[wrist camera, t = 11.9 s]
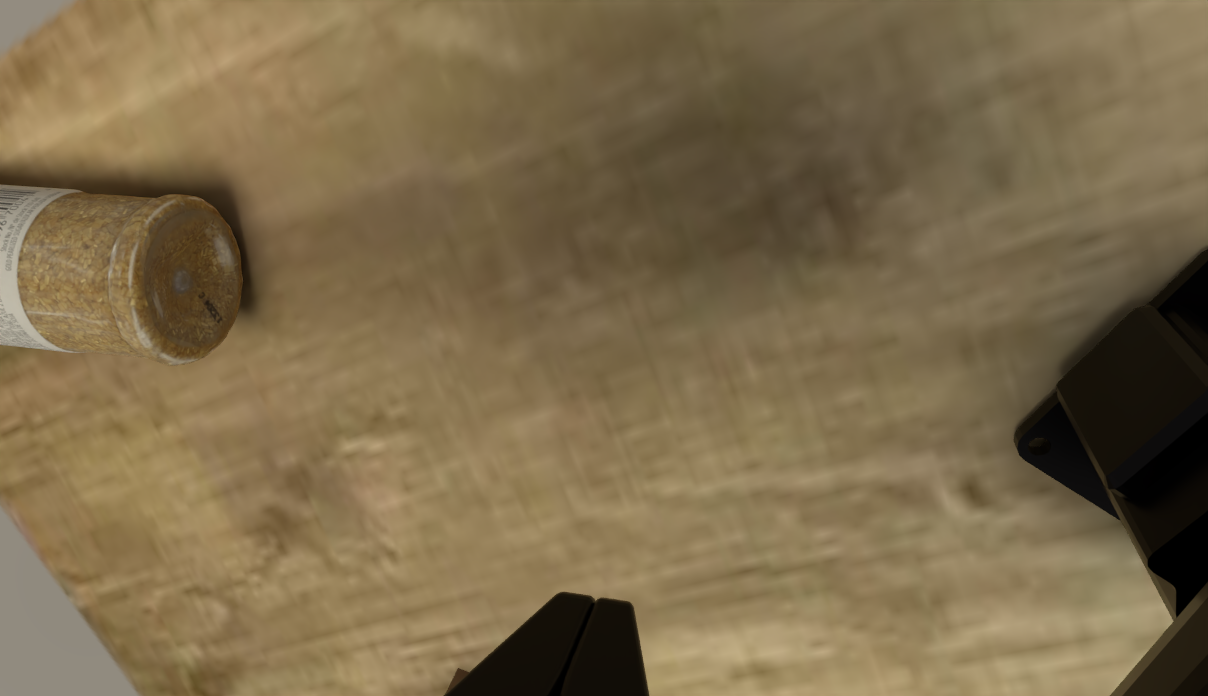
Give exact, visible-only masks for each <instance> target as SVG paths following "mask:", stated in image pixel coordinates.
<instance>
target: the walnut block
mask: <svg viewBox="0 0 1208 696" xmlns="http://www.w3.org/2000/svg"><path fill="white" fill-rule="evenodd" d="M468 673H469V672H467V671H464V670H461V669H459V668H458V669H457V672H456V674H455V676H454V678H453V680H452V682H451V684H450V686H449V688H448V690H447V692H448V691H449V690H450V689H451V688H453V687H454V686H455V685H456V684H457V683H458V682H459V681H460V680H461V679H463V678H464V677H465V676H466V675H467V674H468ZM447 692H446V693H447Z"/></svg>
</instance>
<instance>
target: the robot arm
mask: <svg viewBox="0 0 1208 696" xmlns="http://www.w3.org/2000/svg"><path fill="white" fill-rule="evenodd" d="M1035 438H1044V439H1047V440H1046V442H1045V443H1044V444H1043V445H1041V446H1037V447H1032V446H1029V443H1030V441H1032V440H1034V439H1035ZM1014 442H1015V445H1016V448H1017V450H1018V453H1019V455H1020V456H1021V457H1022V458H1023V459H1024V460H1025V461H1027V462H1028V463H1030V464H1031V465H1033V466H1035V467H1036V468H1038V469H1039V470H1041V471H1042V472H1044V473H1046V474H1047V475H1049V476H1050V477H1052V478H1054V479H1055V480H1057V481H1058V482H1060V483H1062V484H1063V485H1065V486H1066V487H1068V488H1069V489H1071V490H1073V491H1074V492H1076V493H1077V494H1079V495H1081V496H1082V497H1084V498H1085V499H1087V500H1089V501H1090V502H1092V503H1093V504H1095V505H1096V506H1098V507H1100V508H1101V509H1103V510H1104V511H1106V512H1108V513H1109V514H1111V515H1112V516H1114V517H1116V518H1117V519H1119V520H1120V521H1121V522H1122V524H1123V526H1124V527H1125V529H1126V531H1127V533H1128V535H1129V537H1130V539H1131V541H1132V543H1133V545H1134V546H1135V548H1136V550H1137V552H1138V554H1139V556H1140V558H1141V560H1142V562H1143V564H1144V566H1145V567H1146V569H1147V571H1148V573H1149V575H1150V577H1151V579H1152V581H1153V583H1154V585H1155V586H1156V588H1157V590H1158V592H1159V594H1160V596H1161V598H1162V600H1163V602H1164V604H1165V606H1166V607H1167V609H1168V611H1169V613H1170V615H1171V617H1172V619H1173V621H1174V622H1173V623H1172V624H1171V625H1170V626H1169V628H1168V629H1167V630H1166V631H1165V632H1164V633H1163V635H1162V636H1161V637H1160V638H1159V639H1158V640H1157V642H1156V643H1155V644H1154V645H1153V646H1152V647H1151V649H1150V650H1149V651H1148V652H1147V653H1146V654H1145V656H1144V657H1143V658H1142V659H1141V660H1140V661H1139V663H1138V664H1137V665H1136V666H1135V667H1134V668H1133V670H1132V671H1131V672H1130V673H1129V674H1128V675H1127V677H1126V678H1125V679H1124V680H1123V681H1122V682H1121V683H1120V685H1119V686H1118V687H1117V688H1116V689H1115V690H1114V692H1113V693H1112V694H1111V695H1110V696H1208V249H1207V250H1206V251H1204V252H1203V253H1201V254H1200V255H1199V256H1198V257H1197V258H1196V259H1195V260H1194V261H1193V262H1192V263H1191V264H1190V265H1189V266H1188V267H1187V268H1186V269H1185V270H1184V271H1182V272H1181V273H1180V274H1179V275H1178V276H1177V277H1176V278H1175V279H1174V280H1173V281H1172V282H1171V283H1170V284H1169V285H1168V286H1167V287H1166V288H1165V289H1164V290H1163V291H1162V292H1160V293H1159V294H1158V295H1157V296H1156V297H1155V298H1154V299H1153V300H1152V301H1151V302H1150V303H1149V304H1148V305H1147V306H1143V307H1139V308H1136V309H1134V310H1133V311H1132V312H1131V313H1130V314H1129V315H1128V316H1127V317H1125V318H1124V319H1123V320H1122V321H1121V322H1120V323H1119V324H1118V325H1117V326H1116V327H1115V328H1114V329H1113V330H1112V331H1111V332H1110V333H1109V334H1108V335H1107V336H1106V337H1105V338H1104V339H1103V340H1102V341H1101V342H1099V343H1098V344H1097V345H1096V346H1095V347H1094V348H1093V349H1092V350H1091V351H1090V352H1089V353H1088V354H1087V355H1086V356H1085V357H1084V358H1083V359H1082V360H1081V361H1080V362H1079V363H1078V364H1077V365H1076V366H1075V367H1073V368H1072V369H1071V370H1070V371H1069V372H1068V373H1067V374H1066V375H1065V376H1064V377H1063V378H1062V379H1061V380H1060V381H1059V382H1058V383H1057V392H1056V393H1055V394H1054V395H1053V396H1052V397H1051V398H1050V399H1048V400H1047V401H1046V402H1045V403H1044V404H1043V405H1042V406H1041V407H1040V408H1039V409H1038V410H1037V411H1036V412H1035V413H1034V414H1033V415H1032V416H1031V417H1030V418H1029V419H1028V420H1026V421H1025V422H1024V423H1023V424H1022V425H1021V426H1020V427H1019V428H1018V430H1017V431H1016V433H1015V436H1014ZM444 696H649V691H648V685H647V680H646V674H645V668H644V663H643V657H642V651H641V646H640V640H639V634H638V628H637V623H636V617H635V611H634V607H633V605H632V603H630V602H628V601H623V600H616V599H609V598H599V599H597V600H596V601H595V599H594V598H593V597H592V596H589V595H583V594H576V593H569V592H560V593H558V594H556V595H555V596H554V597H553V598H552V599H551V600H549V601H548V602H547V603H546V604H545V605H544V606H543V607H542V608H541V609H539V610H538V611H537V612H536V613H535V614H534V615H533V616H532V617H530V618H529V619H528V620H527V621H526V622H525V623H524V624H523V625H522V626H520V627H519V628H518V629H517V630H516V631H515V632H514V633H513V634H512V635H510V636H509V637H508V638H507V639H506V640H505V641H504V642H503V643H502V644H500V645H499V646H498V647H497V648H496V649H495V650H494V651H493V652H492V653H490V654H489V655H488V656H487V657H486V658H485V659H484V660H483V661H482V662H480V663H479V664H478V665H477V666H476V667H475V668H474V669H473V670H472V671H470V672H469V673H468V674H467V675H466V676H465V677H464V678H463V679H461V680H460V681H459V682H458V683H457V684H456V685H455V686H454V687H453V688H451V689H450V690H449V691H448V692H447V693H446V694H445V695H444Z"/></svg>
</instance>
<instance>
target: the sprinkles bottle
mask: <svg viewBox="0 0 1208 696" xmlns="http://www.w3.org/2000/svg"><path fill="white" fill-rule="evenodd" d="M242 285H243V277H242V270H241V256H240V251H239V248H238V245H237V242H236V239H235V237H234V235H233V233H232V230H231V228H230V226H229V225H228V224H227V223H226V221H225V220H224V219H223V217H222V216H221V215H220V214H219V212H218V211H217V210H216V209H215V208H214V207H213V206H212V205H211V204H209V203H207V202H206V201H204V200H203V199H201V198H199V197H195V196H190V195H179V194H169V195H164V196H161V197H158V198H147V197H135V196H123V195H104V194H88V193H86V192H83V191H80V190H75V189H60V188H44V187H29V186H14V185H0V345H9V346H18V347H27V348H36V349H45V350H54V351H63V352H72V353H81V352H94V353H104V354H111V355H124V356H131V357H144V358H149V359H152V360H154V361H157V362H159V363H162V364H165V365H170V366H174V365H185V364H188V363H192V362H195V361H197V360H199V359H201V358H203V357H205V356H207V355H208V354H210V353H211V352H212V351H213V350H214V349H215V348H216V347H217V346H219V345H220V344H221V343H222V342H223V340H224V339H225V338H226V336H227V334H228V332H229V330H230V329H231V327H232V326H233V324H234V321H235V319H236V316H237V313H238V309H239V305H240V299H241V290H242Z"/></svg>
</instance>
